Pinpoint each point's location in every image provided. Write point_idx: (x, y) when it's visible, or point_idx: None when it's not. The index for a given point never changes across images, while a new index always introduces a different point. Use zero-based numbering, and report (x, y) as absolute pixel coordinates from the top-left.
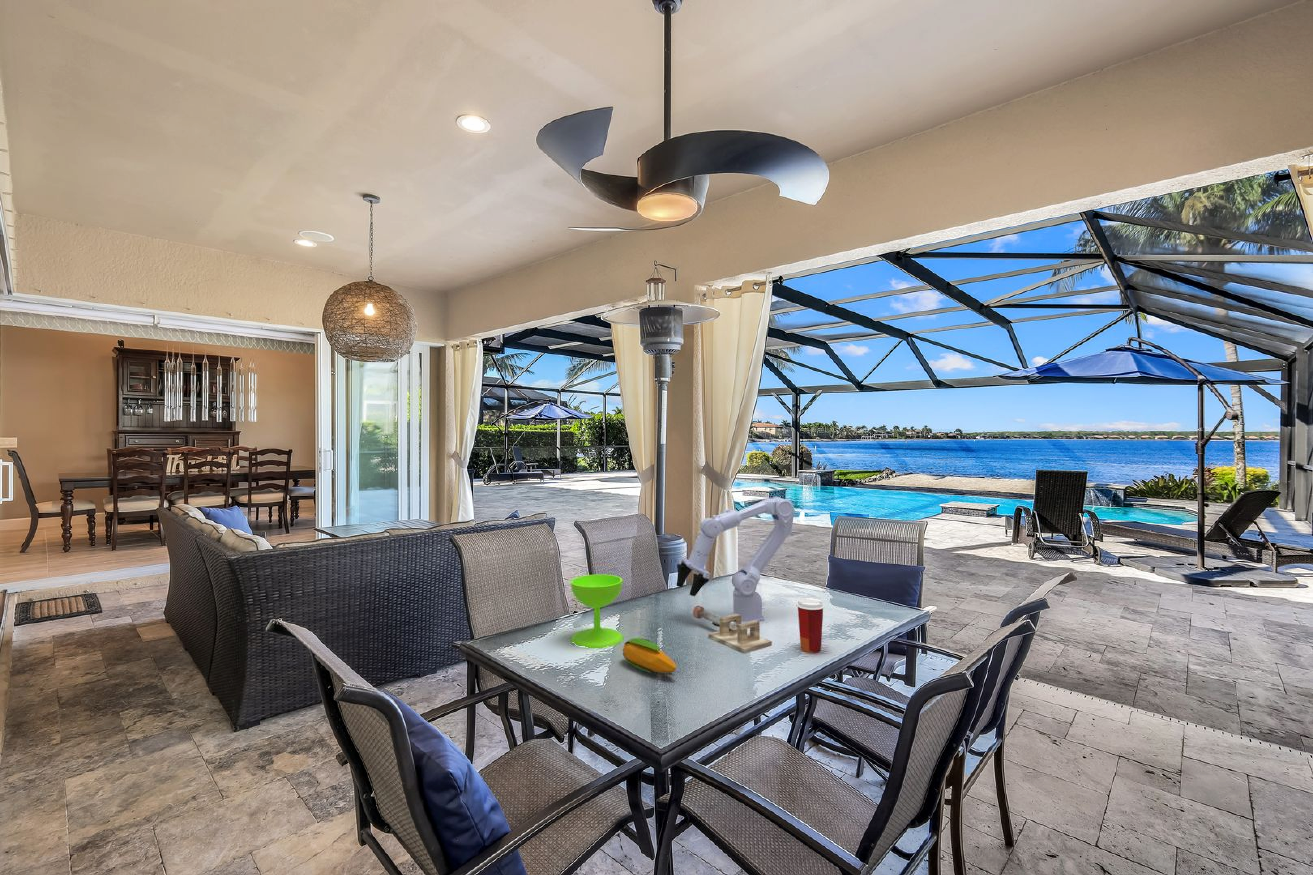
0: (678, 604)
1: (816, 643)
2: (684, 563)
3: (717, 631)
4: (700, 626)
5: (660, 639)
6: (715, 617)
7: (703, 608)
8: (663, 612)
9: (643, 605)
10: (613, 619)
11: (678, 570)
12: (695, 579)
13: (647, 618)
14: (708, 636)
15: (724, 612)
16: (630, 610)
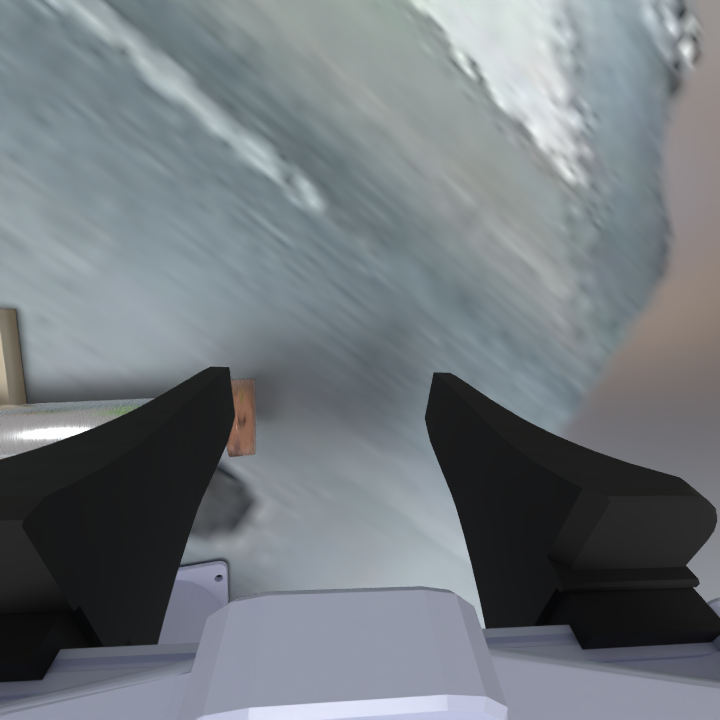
0: None
1: None
2: (656, 652)
3: (4, 378)
4: None
5: (154, 70)
6: (5, 417)
7: (228, 452)
8: (483, 361)
9: (596, 346)
10: (541, 114)
11: (564, 449)
12: (35, 461)
13: (463, 249)
14: (11, 309)
15: None
16: (583, 260)
